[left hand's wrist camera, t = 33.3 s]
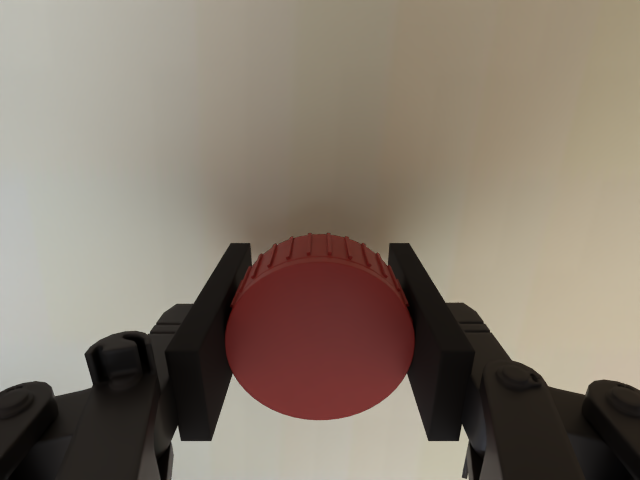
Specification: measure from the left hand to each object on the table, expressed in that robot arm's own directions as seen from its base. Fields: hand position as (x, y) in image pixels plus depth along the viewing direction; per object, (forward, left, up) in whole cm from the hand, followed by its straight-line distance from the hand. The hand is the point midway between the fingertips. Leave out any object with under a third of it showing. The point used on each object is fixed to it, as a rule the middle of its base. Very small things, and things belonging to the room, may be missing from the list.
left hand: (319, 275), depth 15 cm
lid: (0, 0, +4) cm, 4 cm away
